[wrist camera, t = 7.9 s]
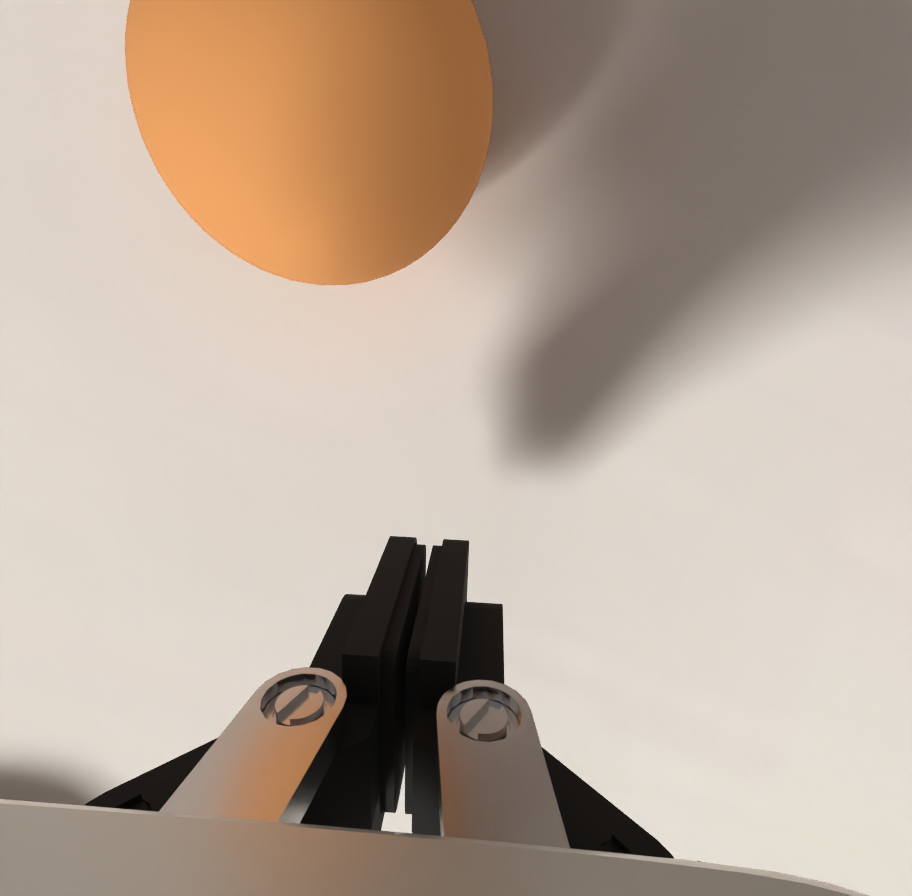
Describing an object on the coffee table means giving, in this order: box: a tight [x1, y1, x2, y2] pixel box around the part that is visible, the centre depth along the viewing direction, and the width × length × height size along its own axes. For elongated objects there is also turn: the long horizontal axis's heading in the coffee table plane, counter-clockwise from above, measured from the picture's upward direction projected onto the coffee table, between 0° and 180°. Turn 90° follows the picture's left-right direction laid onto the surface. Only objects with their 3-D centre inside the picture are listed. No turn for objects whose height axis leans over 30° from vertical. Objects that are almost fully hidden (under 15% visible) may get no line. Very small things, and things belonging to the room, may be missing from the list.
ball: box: [125, 0, 493, 285], centre depth 10 cm, size 6×6×6 cm
